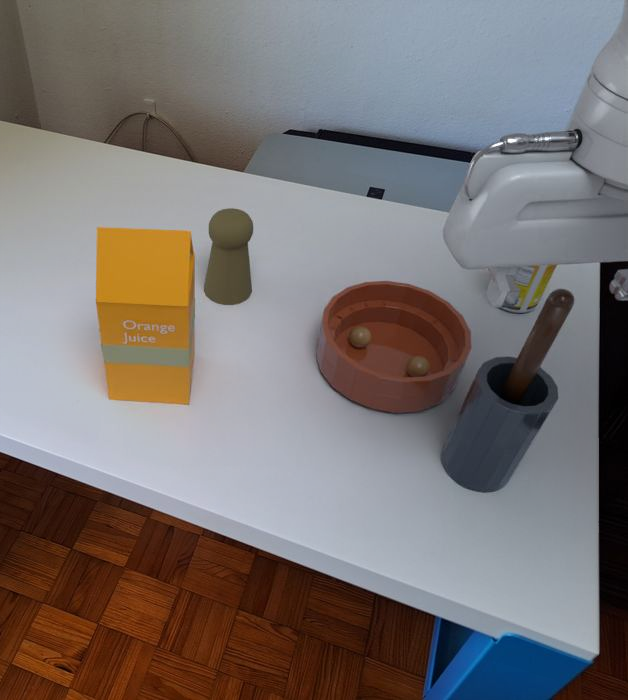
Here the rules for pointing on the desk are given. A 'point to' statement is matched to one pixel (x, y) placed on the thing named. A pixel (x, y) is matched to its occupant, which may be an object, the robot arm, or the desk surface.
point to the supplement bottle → (530, 286)
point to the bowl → (392, 345)
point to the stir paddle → (537, 345)
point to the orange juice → (146, 313)
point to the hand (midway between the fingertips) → (560, 298)
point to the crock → (495, 427)
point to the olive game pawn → (229, 257)
